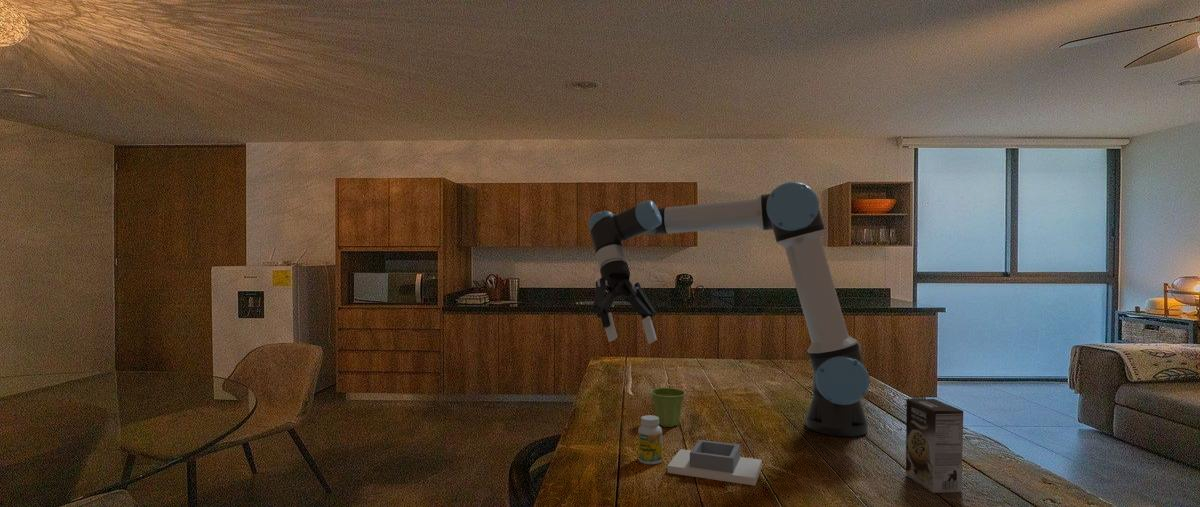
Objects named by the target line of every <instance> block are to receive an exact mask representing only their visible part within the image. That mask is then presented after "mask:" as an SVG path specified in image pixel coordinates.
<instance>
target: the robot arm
mask: <svg viewBox="0 0 1200 507" xmlns="http://www.w3.org/2000/svg"><path fill="white" fill-rule="evenodd" d="M819 202H820V201H819V197H818V195H817V194H816V192H815V191H814V190H813V188H811V186H809V185H807V184H805V183H802V182H799V181H789V182H784V183H782V184H780V185H778V186H777V187H775V188H774V189H773V190H772V191H771V192H770V193H765V194H760V195H758V197H757V198H754V199H752V198H751V199H742V200H731V201H721V202H712V203H711V202H710V203H701V204H700V203H699V204H689V205H681V206H667V207H658V206H657V204H656V203H655V202H654V201H653V200H647V201H643V202H640V203H638V204H636V205H634V206H632V207H630V208H628V209H626V210H623V211H621V212H619V213H617V214H613V212H612V211H609V210H603V211H598V212H596V213H594V214H592V215H591V216H590V218H589V219H588V228H589V235H590V238H591V242H592V245H593V247H594V248H593V249H594V252H595V257H596V260H597V264H598V267H599V272H600V276H601V278H599V279H598V280H596V281H595V288H596V290H595V294H594V298H593V305H592V309H591V310H592V313H594V314H596V317H597V318H598V319H601V324H602V326H603V328H604V329H605V334H606V337H607V341H608V342H609V343H610V342H613V341H614V340H616V339H618V334H617V330H616V326H615V322H614V318H613V314H612V313H613V312H609V311H610V309H611V306H612V304H613V302H614V301H615V299H617V300H618V299H620V300H624V301H625V302H626V303H629V304H630V305H631V307H632V308H633V309H634V310H635V311H636V312H637V313H638V315H640V317H641V318H642V320H641V323H642V327H643V330H644V334H645V337H646V342H647V345H651V344H652V343H654V342H656V341H658V338H657V334H656V330H655V324H654V321H653V317H655V316H656V315H657V311H656V309H655V308H654V306H653V305H652V303H651V302H650V300H649V299H648V297H647V296H646V294H645V293H644V291H643V288H642V287H641V284H640V282H635V283H632V282H631V281H630V277H631V272H630V268H629V264H628V261H627V257H626V253H625V249H624V246H623V242H626V241H627V240H630V239H633V238H635V237H637V236H642V235H643V236H648V237H650V236H651V237H652V236H657V235H666V234H682V233H692V232H704V231H705V232H706V231H707V232H708V231H717V230H720V231H721V230H731V229H732V230H733V229H744V228H746V229H747V228H760V230H761V231H769V230H770V231H771V230H772V232H773V234H774V238H775V241H776V244H777V245H779V246H781V247H783V248H784V251H785V254H786V257H787V261H788V264H789V267H790V271H791V273H792V274H791V275H792V278H793V282H794V284H795V288H796V292H797V295H798V299H799V302H800V307H801V309H802V313H803V317H804V320H805V325H806V328H807V331H808V335H809V339H810V342H811V344H810V345H809V347H808V349H807V355H808V357H809V358H808V359H809V361H810V365H811V369H812V372H813V373H812V374H813V375H812V399H811V401H810V405H809V407H808V410H807V413H806V414H805V415H806V416H805V426H806V428H808V429H810V431H813V432H816V433H818V434H819V433H820V434H824V435H829V436H834V437H846V438H848V437H849V438H852V437H860V436H861V437H862V436H863V435H867V433H868V432H869V422H868V419H867V416H866V414H865V412H866V411H865V410H864V408H863V407H864V406H863V404H862V399H863V398H864V396H866V394H867V393H868V390H869V388H870V381H871V378H870V373H869V370H867V369H866V366H865V364H864V360H863V356H862V354H863V353H862V352H863V351H862V346H861V344H860V343H859V342H858V340H857V338H856V339H855V338H854V337H852V336H851V335H850V334H849V332H848V328H847V325H846V322H845V321H846V320H845V319H844V314H843V312H842V308H841V303H840V302H839V298H838V295H837V294H838V293H837V290H836V287H835V284H834V281H833V276H832V273H831V269H830V267H829V263H828V259H827V256H826V253H825V248H824V246H823V241H822V237H823V234H825V232H826V229H825V225H824V220H823V218H822V214H821V212H820V210H821V209H820V203H819ZM606 291H607V294H605V293H606Z"/></svg>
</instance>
